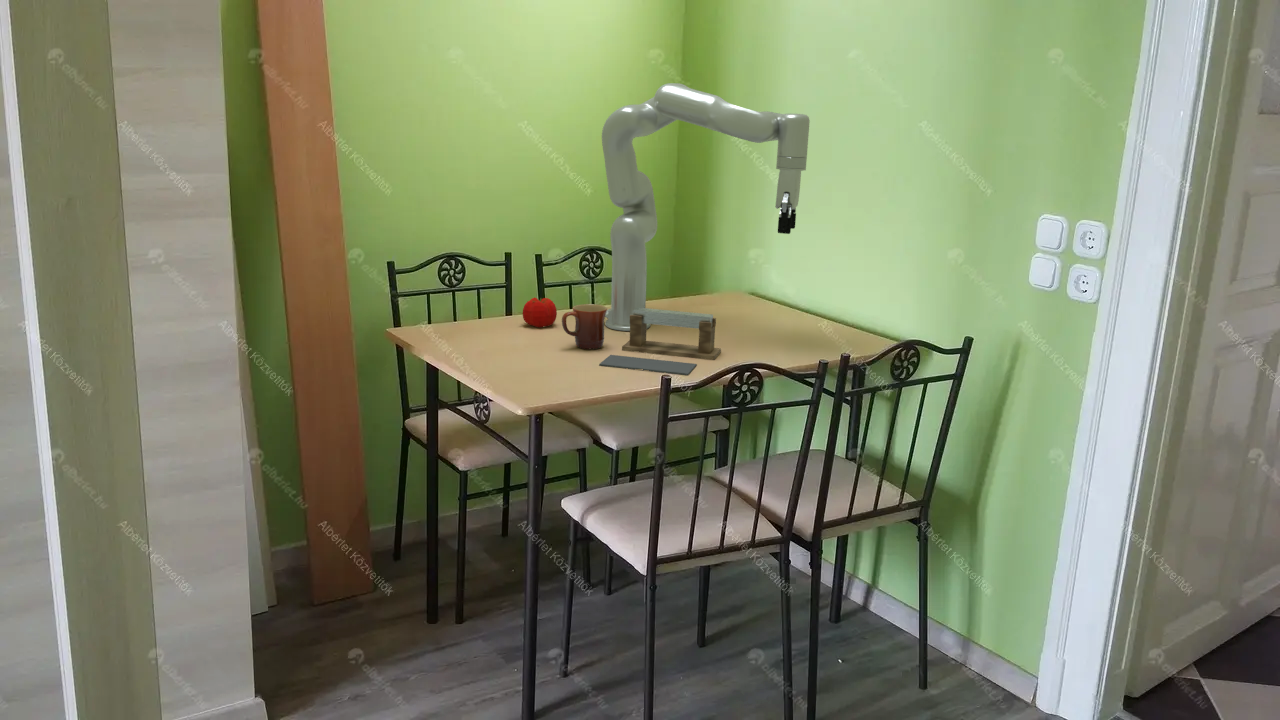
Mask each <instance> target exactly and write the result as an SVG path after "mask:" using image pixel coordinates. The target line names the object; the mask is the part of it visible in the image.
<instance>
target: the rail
mask: <svg viewBox="0 0 1280 720" xmlns="http://www.w3.org/2000/svg"><path fill="white" fill-rule="evenodd" d="M633 315H639V316H642V323H646V324H650V325H658V326H669V327H679V328H689V329H697V330H699V322H700V321H701V322H712V327H713V318H714V314H710V313H701V312H690V311H689V312H688V311H679V310H669V309H668V310H667V309H660V308H659V309H658V308H646V307H645V308H638V307H637V308H635V309H634V310H633Z"/></svg>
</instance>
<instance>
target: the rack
mask: <svg viewBox="0 0 1280 720" xmlns="http://www.w3.org/2000/svg"><path fill="white" fill-rule="evenodd" d="M716 322H717V318H716V317H713V327H712V322H701V321H700V322H699V329H698V330H699V331H698V344H697V345H692V344H691V345H690V344H682V343H673V342H663V341H654V340H653V341H652V340H647V330H648V329H647V324H646V323H642V316H639V315H630V331H629V340H628V341H627V342H626V343H624V344H623V345H621V351H625V350H628V351H627V352H634V351H639V352H638V353H644V352H647V353H646V354H656V355H662V356H663V355H665V356H671V357H672V356H673V357H675V356H676V357H683V358H692V359H701V360H713V361H715V360H716V358H718V356H719V355H720V354H721V352H722V351H721V350H722V348H721V347H715V339H716V338H715V337H716V336H715V335H716V324H717V323H716Z"/></svg>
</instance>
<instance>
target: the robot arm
mask: <svg viewBox="0 0 1280 720" xmlns="http://www.w3.org/2000/svg"><path fill="white" fill-rule="evenodd" d="M676 121H681V122H685V123H689V124H691V125H695V126H698V127H702V128H705V129H708V130H711V131H714V132H718V133H721V134H725V135H727V136H731V137H734V138H737V139H741V140H744V141H748V142H751V143H754V144H755V143H757V144H760V143H761V144H762V143H765V142H767V143H768V142H772V141H777V149H776V150H777V151H776V152H777V153H776V164H775V166H776V167H775V169H776V170H778V171H779V172H778V179H777V186H776V187H777V188H776V189H777V190H776V195H775V196H776V198H775V208H776V209H779V214H778V215H779V216H778V222H777V233H778V234H784V235H789V234H791V230H792V229H795V228H796V219H797V213H796V212H797V207H798V206H799V199H800V190H801V177H802V172H803V171H807V161H808V160H807V159H808V148H809V147H808V145H809V136H810V135H809V132H810V122H811V121H810V116H808V115H807V114H803V113H780V112H779V113H778V112H773V111H767V110H766V111H765V110H764V111H757V110H753V109H749V108H745V107H742V106H739V105H735V104H733V103H731V102H728V101H726V100H724V99H723V98H722V97H721V96H719V95H716V94H712V93H708V92H705V91H701V90H698V89H694V88H690V87H688V86H687V85H685V84H683V83H678V82H676V83H675V82H674V83H670V82H669V83H665V84H662V85H661V86H660V87H658V89H657V90H656V91H655V94H654V96H653V97H651V98H649V99H648V100H645V101H644V102H642V103H640V104H628V105H623V106H621V107H619V108H617V109H616V110H614V111H613V112H612V113H611V114H610V115H609V116H608V118H607V119H606V120H605V122H604V124H603V126H602V131H601V145H602V146H601V147H602V151H603V160H604V167H605V175H606V180H607V181H606V182H607V189H608V195H609V199H610V201H611V203H612V204H613V205H614V206H615V207H618V208H619V209H620V208H622V211H623V214H621V215H619V216H618V217H616V218H615V220H614V221H613V223H612V225H611V228H610V232H609V233H610V237H609V238H610V246H611V304H610V305H611V306H610V308H607V312H606V315H605V318H606V320H604V326H606V327H607V328H608V329H611V330H615V331H621V332H623V331H624V332H630V315H633V310H634V309H635V308H637V307H638V308H646V301H647V299H646V297H647V269H648V268H647V267H648V266H647V264H648V263H647V250H646V249H647V248H646V244H647V243H648V242H649V241H651V240H652V239H653V238H654V237H655V236H656V233H657V230H658V216H657V208H656V202H655V194H654V188H653V184H652V182H651V180H650V178H649V177H648V175H646V173H644V172H642V171H640V170H638V165H637V156H636V152H635V147H634V146H633V140H635V138H640V137H648V136H650V135H652V134H654V133H656V132H657V131H660V130H661V129H663V128H665V127H666V126H668V125H670V124H673V123H674V122H676ZM649 328H651V324H647V330H648V329H649Z"/></svg>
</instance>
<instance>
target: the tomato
mask: <svg viewBox="0 0 1280 720" xmlns="http://www.w3.org/2000/svg"><path fill="white" fill-rule="evenodd" d="M557 314H558V311H557V306H556V304H555V302H554V301H553V300H551V299H550V298H548V297H543V298H542V297H540V298H539V299H538V298H537V297H532V298H531V299H530V300H528V301H527V302H526V303H525V304H524V305H523V308H522V319H523V321H524V322H525V323H526V324H527V325H529V326H533V327H535V328H539V329H540V328H545V327H549V326H552V325H553V324H554V323H555V321H556V319H557V316H558V315H557Z"/></svg>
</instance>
